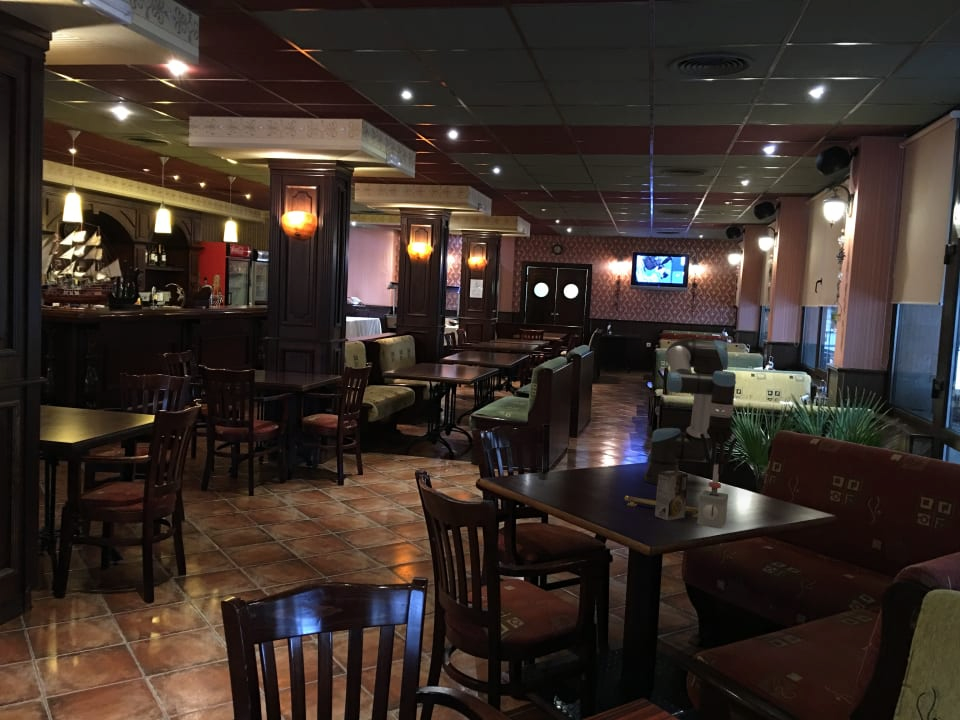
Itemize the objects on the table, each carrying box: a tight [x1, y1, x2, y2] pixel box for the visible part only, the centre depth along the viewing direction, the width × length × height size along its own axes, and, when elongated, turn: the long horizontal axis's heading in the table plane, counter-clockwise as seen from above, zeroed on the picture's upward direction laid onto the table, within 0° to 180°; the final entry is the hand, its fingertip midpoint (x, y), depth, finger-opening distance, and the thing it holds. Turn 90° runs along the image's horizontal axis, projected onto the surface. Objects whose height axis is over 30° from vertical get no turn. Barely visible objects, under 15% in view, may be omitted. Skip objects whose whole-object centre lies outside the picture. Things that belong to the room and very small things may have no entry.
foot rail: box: [624, 495, 699, 518], centre depth 278 cm, size 30×2×3 cm, turn 63°
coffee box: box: [654, 470, 689, 521], centre depth 269 cm, size 9×6×16 cm
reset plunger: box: [708, 481, 722, 496], centre depth 264 cm, size 4×4×5 cm
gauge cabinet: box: [697, 490, 729, 529], centre depth 264 cm, size 11×8×10 cm
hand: (715, 482), depth 264 cm, fingers closed
